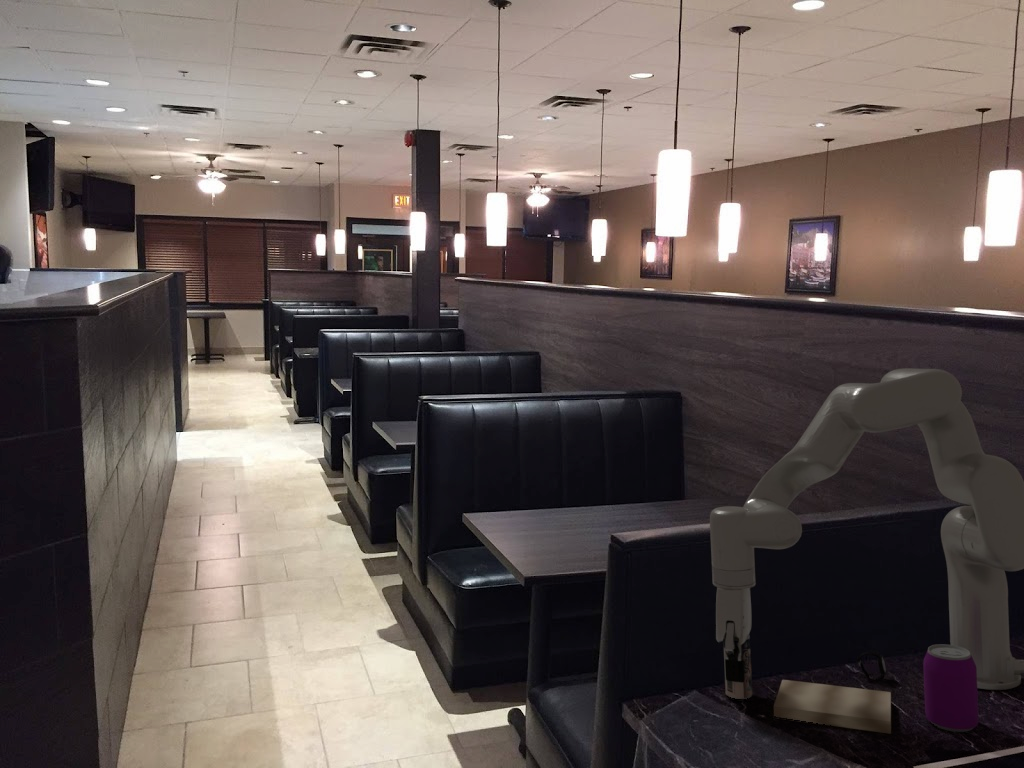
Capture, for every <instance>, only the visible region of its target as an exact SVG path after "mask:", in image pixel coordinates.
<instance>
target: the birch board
mask: <svg viewBox="0 0 1024 768" xmlns="http://www.w3.org/2000/svg"><path fill="white" fill-rule="evenodd" d="M774 716H776V717H781V718H787V719H793V720H792V721H794V720H800V721H799V722H801V721H806V722H805V723H808V722H813V723H812V724H816V723H818V725H823V724H825V725H824V726H830V725H831V726H833V727H840V728H845V729H854V730H861V731H868V732H874V733H875V732H876V733H882V734H888V735H889V734H892V693H891V691H883V690H877V689H876V690H874V689H865V688H860V687H859V688H857V687H849V686H840V685H833V684H826V683H825V684H824V683H816V682H815V683H814V682H806V681H797V680H789V679H782V680H781V682H780V686H779V689H778V693H777V695H776V698H775V700H774V705H773V717H774Z"/></svg>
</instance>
